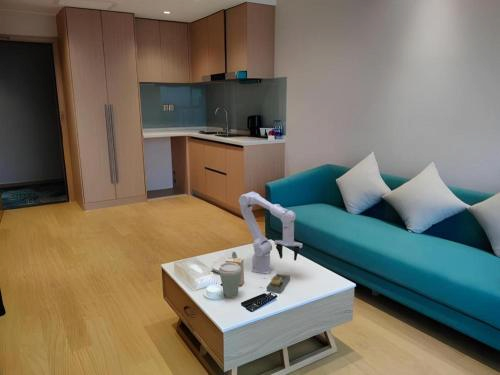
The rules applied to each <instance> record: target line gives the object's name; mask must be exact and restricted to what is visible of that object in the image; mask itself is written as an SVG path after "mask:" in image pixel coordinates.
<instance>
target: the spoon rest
mask: <svg viewBox="0 0 500 375" xmlns="http://www.w3.org/2000/svg"><path fill="white" fill-rule="evenodd" d="M229 257H231V258H238V255H237V252H235V251H234V250H233V251H231V250H227V251H226V252H225V253H223V255H221V256H220V257H219V258H218V259H217V260H215V261H214V262H212V264H211V268H212V269H213V271H214V272H215V273H219V274H220V272H219V268H220V265H221V264H222V263H226V260H227V259H228V258H229Z"/></svg>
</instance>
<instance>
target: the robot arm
mask: <svg viewBox="0 0 500 375" xmlns="http://www.w3.org/2000/svg"><path fill="white" fill-rule="evenodd" d="M238 203H239V207H240V212H241V214H242V217H243V219H244V221H245V223H246V226H247V228H248V230H249V232H250V234H251V236H252V238H253V244H252V246H253V251H254V253H253V255H252V259H251V264H252V265H251V272H254V273H260V274H270V272H271V271H272V270H273V267H272V266H271V251H272V250H273V245H274V246H275V249H276V250H277V253H278V256H279V259H283V248H284V247H293V260H294V261H296V260H297V257H298V254H299V251H300V250H301V248H303V243H301V242H297V241H295V240H294V239H295V220H296V218H297V215H296V213H295V212H294V211H293V210H292V209H291V210H289V209H287V208H284V207H283V206H281V204H279V203H278V204H277V203H275V204H273V203H271V202H270V201H268V200H267V199H265V198H263V196H261V195H260V194H259V193H258V192H255V191H253V190H252V191H249V192H248V193H244V194H241V195H240V196H239V199H238ZM254 205H259V206H260V207H261V208H262V207H263V208H264V209H267V211H268V210H269V213H270V214H271V215H273V216H274V217H276V218H278V219H279V220H280V222H281V223H282V239H281V240H280V239H275V240H274V243H273V244H272V243H271V241H269V239H268V238H267V237H265V236H264V235H263V232H262V230H261V228H260V226H259V223H258V222H257V220H256V217H255V215H254V212H253V211H252V210H253V207H254Z"/></svg>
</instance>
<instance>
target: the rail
mask: <svg viewBox="0 0 500 375" xmlns="http://www.w3.org/2000/svg"><path fill="white" fill-rule="evenodd" d="M275 276H278V277H282V285H281V286H280V287H278V286H272V285H271V281H270V282H269V284H268V285H266V292H268V293H269V292H270V293H274V294H275V293H276V294H282V292H283V291H284V289H285V288H286V286H288V283H289V282H290V280H291V275H289V274H282V273H276V274H275Z"/></svg>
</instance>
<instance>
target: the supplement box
mask: <svg viewBox="0 0 500 375" xmlns="http://www.w3.org/2000/svg"><path fill="white" fill-rule="evenodd" d="M226 262H231V263H236V264H238V265H239V266H240V267H241V271H240V279H239V287H242V286H243V284H244V283H245V273H244V272H245V270H244V268H245V267H244V266H245V264H244V258H239V257H237V258H231V257H229V258H228V259H227V260H226Z"/></svg>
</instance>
